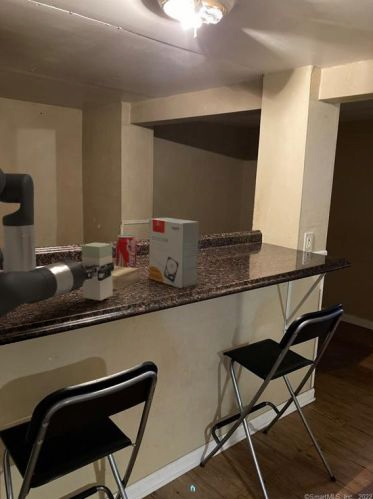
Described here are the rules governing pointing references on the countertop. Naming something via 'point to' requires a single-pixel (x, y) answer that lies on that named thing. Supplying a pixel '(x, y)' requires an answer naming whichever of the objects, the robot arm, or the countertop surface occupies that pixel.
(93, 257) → the carton
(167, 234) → the hard drive box
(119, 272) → the podium
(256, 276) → the countertop surface
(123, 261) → the soda can
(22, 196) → the robot arm
